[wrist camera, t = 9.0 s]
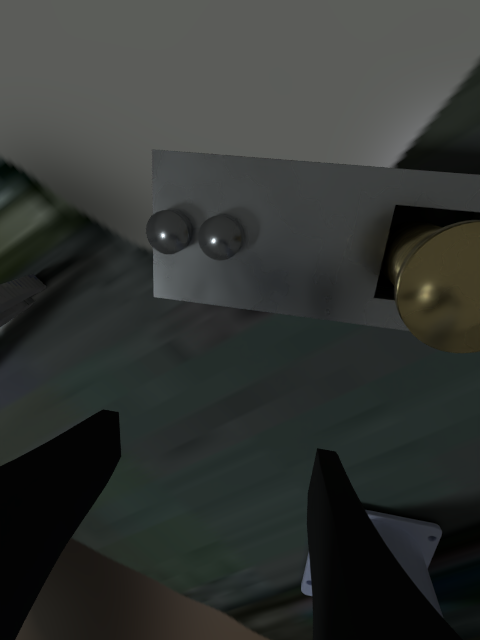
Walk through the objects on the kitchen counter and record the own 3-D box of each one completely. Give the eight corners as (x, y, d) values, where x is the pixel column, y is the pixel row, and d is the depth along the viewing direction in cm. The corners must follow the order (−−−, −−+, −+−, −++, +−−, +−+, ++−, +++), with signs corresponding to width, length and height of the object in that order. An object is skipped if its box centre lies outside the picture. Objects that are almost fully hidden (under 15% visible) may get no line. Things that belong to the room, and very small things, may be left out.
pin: (442, 300, 18) (516, 363, 12) (356, 288, 19) (383, 341, 12) (472, 214, 17) (576, 231, 10) (377, 202, 17) (420, 213, 11)
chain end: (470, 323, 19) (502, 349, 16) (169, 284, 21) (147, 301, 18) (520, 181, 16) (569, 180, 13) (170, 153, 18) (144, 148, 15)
